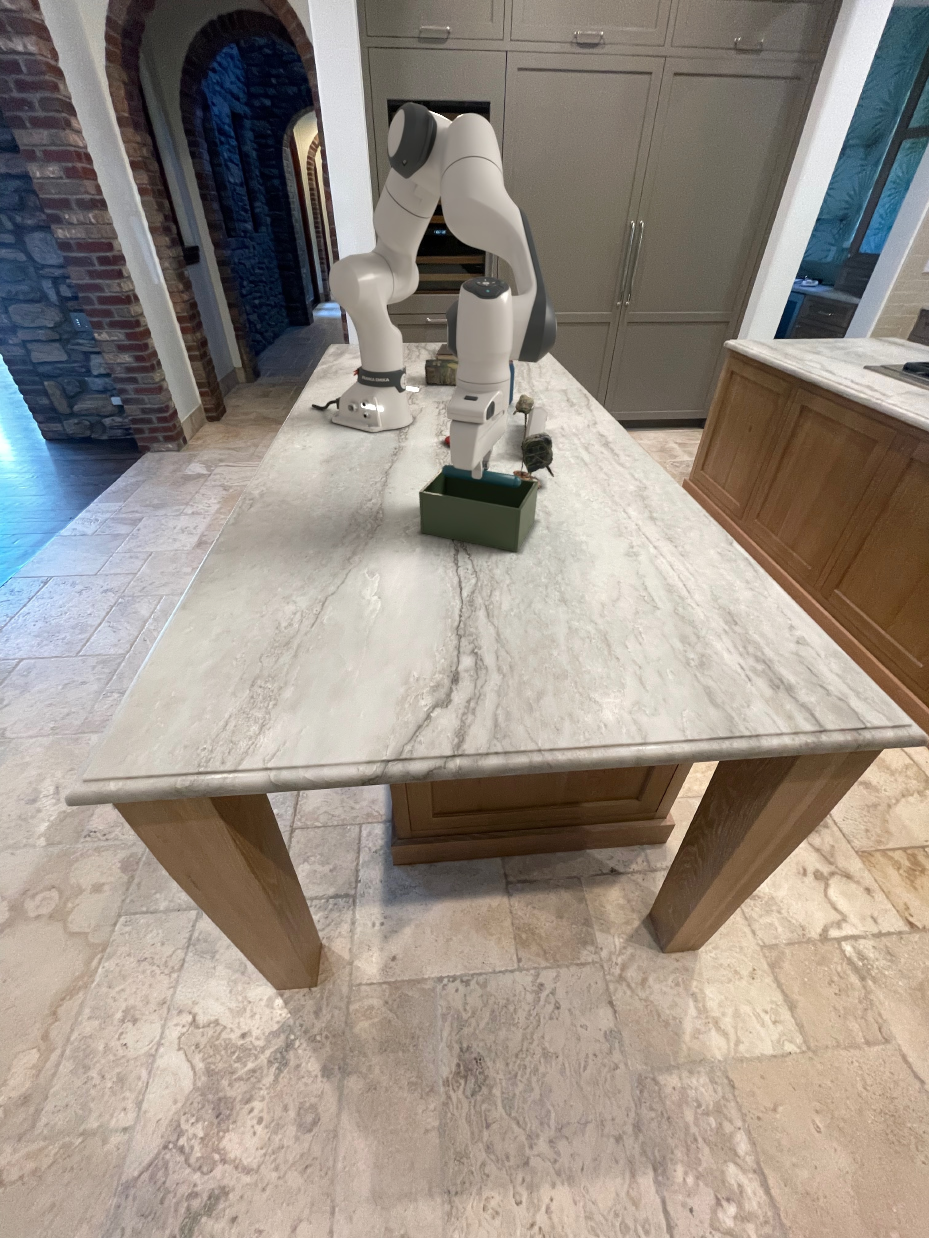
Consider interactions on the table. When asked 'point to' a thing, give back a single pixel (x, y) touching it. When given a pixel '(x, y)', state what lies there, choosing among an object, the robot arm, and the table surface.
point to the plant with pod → (533, 445)
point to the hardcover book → (445, 354)
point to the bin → (478, 511)
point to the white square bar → (536, 421)
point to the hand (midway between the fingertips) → (480, 473)
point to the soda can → (511, 380)
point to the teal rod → (488, 476)
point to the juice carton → (441, 371)
